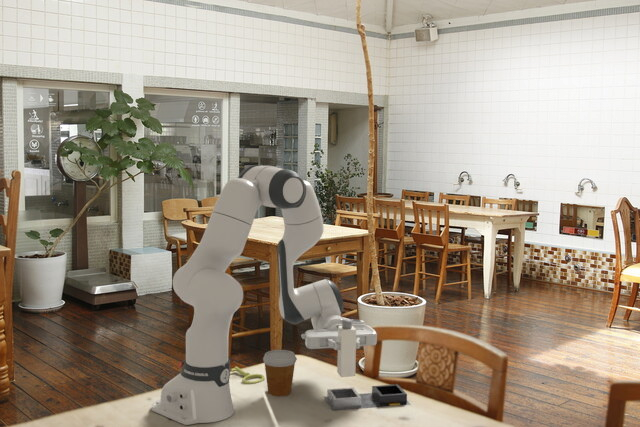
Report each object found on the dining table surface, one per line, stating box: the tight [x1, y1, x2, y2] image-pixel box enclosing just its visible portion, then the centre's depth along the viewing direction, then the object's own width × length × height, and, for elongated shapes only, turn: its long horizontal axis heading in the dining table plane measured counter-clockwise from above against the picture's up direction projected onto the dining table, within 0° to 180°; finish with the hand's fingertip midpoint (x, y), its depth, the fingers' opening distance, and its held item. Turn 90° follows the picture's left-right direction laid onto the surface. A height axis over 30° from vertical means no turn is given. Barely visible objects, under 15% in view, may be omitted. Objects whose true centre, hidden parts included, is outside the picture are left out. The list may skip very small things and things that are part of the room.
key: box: [230, 365, 266, 385], centre depth 210 cm, size 7×12×2 cm, turn 59°
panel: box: [323, 383, 411, 412], centre depth 191 cm, size 22×10×4 cm, turn 103°
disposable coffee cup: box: [262, 349, 298, 397], centre depth 196 cm, size 10×10×12 cm
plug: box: [336, 318, 357, 378], centre depth 188 cm, size 4×4×15 cm
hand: (347, 346), depth 187 cm, fingers closed on plug, 4 cm apart
